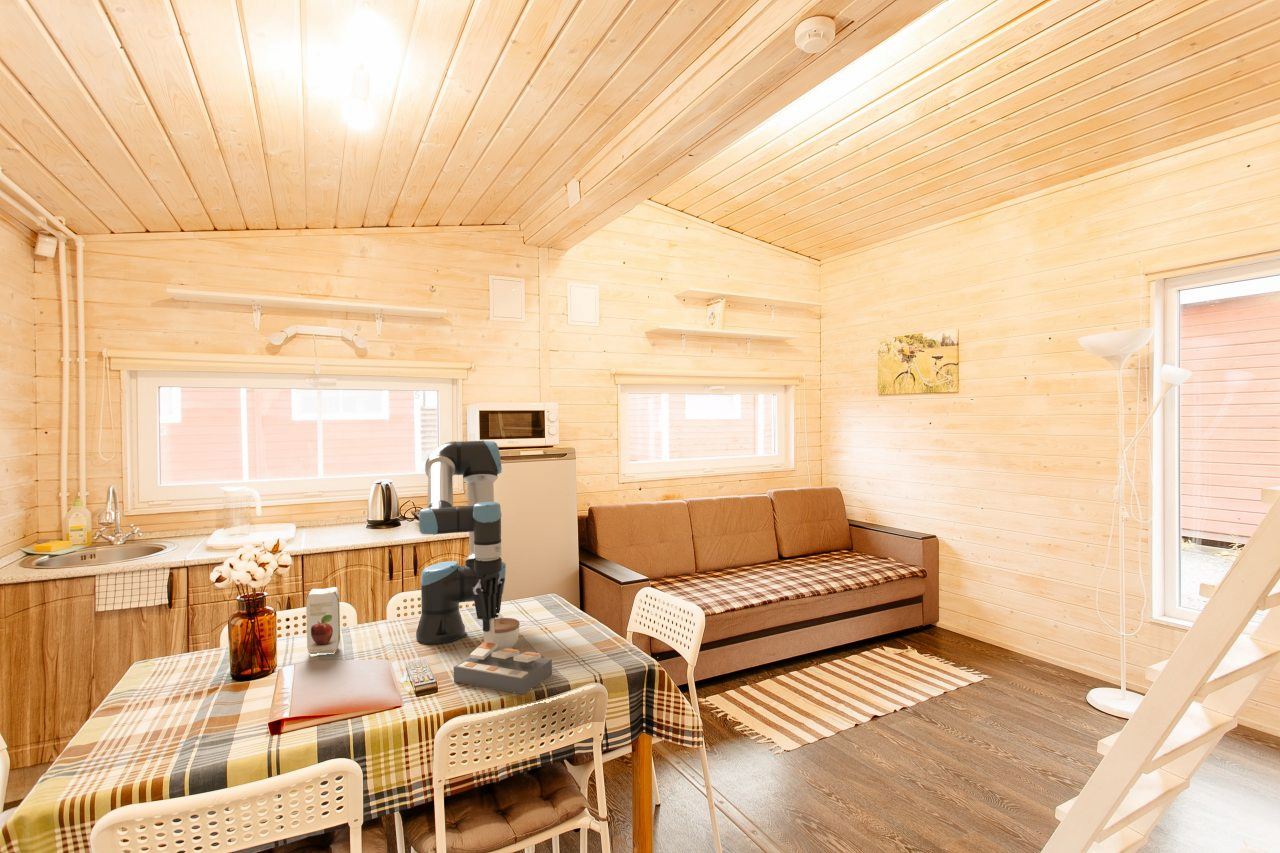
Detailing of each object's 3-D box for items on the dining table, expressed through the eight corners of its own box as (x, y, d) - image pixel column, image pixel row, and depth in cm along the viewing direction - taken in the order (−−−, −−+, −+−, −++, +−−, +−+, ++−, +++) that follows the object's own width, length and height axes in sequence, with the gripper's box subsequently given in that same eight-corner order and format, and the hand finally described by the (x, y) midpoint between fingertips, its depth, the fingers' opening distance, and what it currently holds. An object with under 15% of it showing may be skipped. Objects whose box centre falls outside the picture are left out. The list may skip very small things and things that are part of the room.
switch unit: (453, 681, 169) (453, 662, 169) (485, 662, 182) (485, 644, 182) (523, 694, 160) (523, 674, 160) (551, 673, 173) (551, 655, 173)
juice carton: (310, 649, 193) (309, 588, 193) (341, 646, 196) (340, 585, 196) (306, 658, 186) (304, 595, 186) (337, 655, 189) (336, 592, 188)
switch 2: (491, 656, 170) (491, 652, 170) (505, 652, 176) (506, 647, 176) (505, 658, 168) (505, 654, 168) (519, 654, 174) (519, 650, 174)
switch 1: (470, 657, 172) (469, 653, 172) (484, 644, 178) (484, 641, 178) (483, 659, 171) (482, 655, 170) (497, 646, 177) (497, 643, 177)
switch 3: (513, 660, 167) (513, 655, 167) (527, 655, 173) (527, 651, 173) (527, 662, 165) (527, 658, 165) (541, 657, 171) (541, 653, 172)
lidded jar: (526, 647, 193) (526, 617, 193) (497, 658, 185) (496, 626, 185) (506, 639, 200) (506, 610, 200) (477, 649, 192) (476, 618, 192)
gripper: (484, 564, 169) (486, 651, 169) (512, 554, 181) (513, 635, 181) (462, 561, 172) (463, 647, 172) (490, 552, 184) (492, 632, 184)
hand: (489, 641), depth 177 cm, fingers closed
